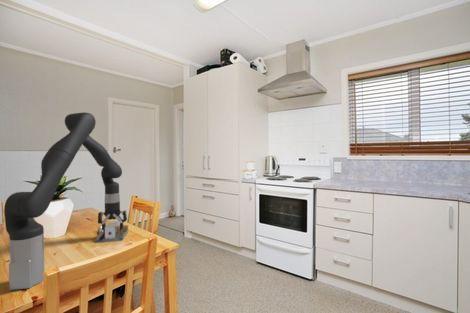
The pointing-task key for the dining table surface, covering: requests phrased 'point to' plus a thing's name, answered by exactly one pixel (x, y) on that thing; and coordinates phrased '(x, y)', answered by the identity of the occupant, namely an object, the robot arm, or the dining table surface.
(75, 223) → the dining table surface
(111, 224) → the grey metal block
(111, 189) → the robot arm
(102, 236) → the grey channel bracket
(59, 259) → the dining table surface
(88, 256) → the dining table surface
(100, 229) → the hitch pin
